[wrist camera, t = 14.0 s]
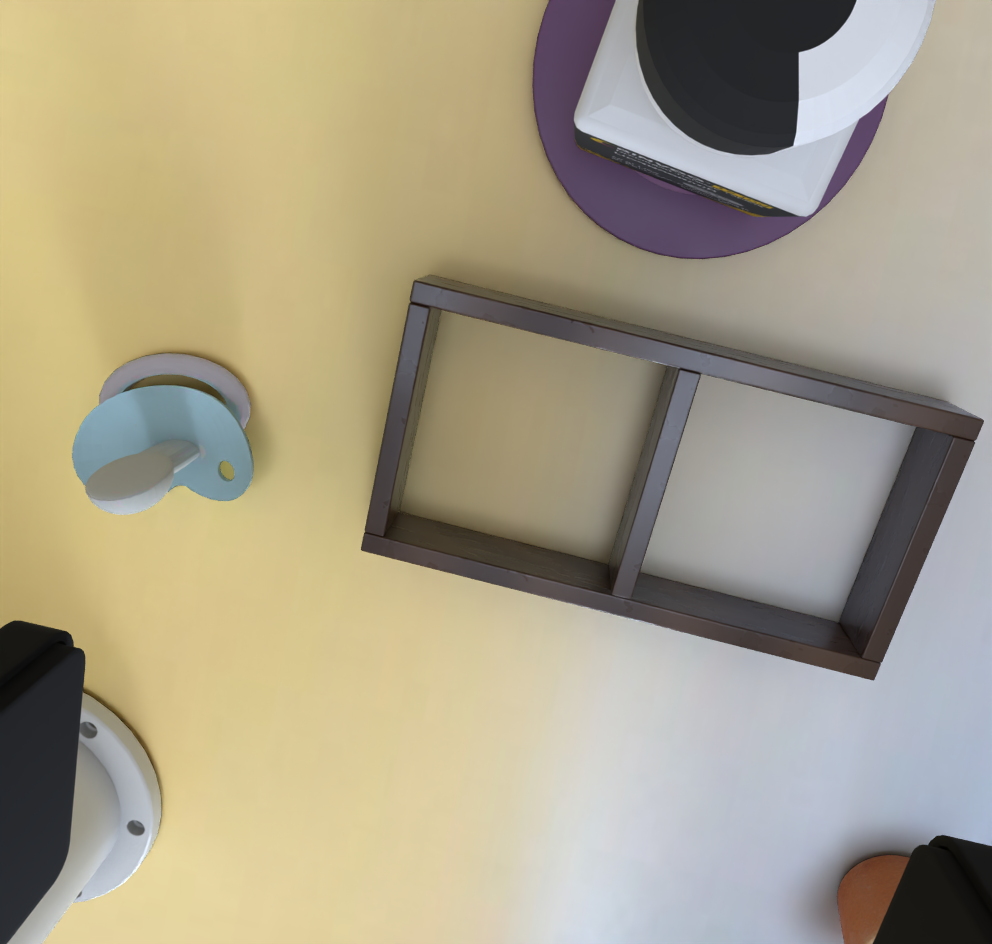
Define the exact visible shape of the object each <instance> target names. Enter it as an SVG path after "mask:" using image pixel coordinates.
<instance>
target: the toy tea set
mask: <svg viewBox="0 0 992 944" xmlns="http://www.w3.org/2000/svg"><path fill="white" fill-rule="evenodd" d="M909 859H910V858H909V857H904V856H899V855H883V856H877V857H873V858H870V859H867V860H865V861H863V862H861V863H859V864H858V865H856V866H855V867H853V868H852V869H851V870H850V871H849V872H848V873H847V874H846V875H845V877H844V878H843V880H842V881H841V883H840V886H839V890H838V894H837V903H838V910H839V915H840V921H841V927H842V933H843V938H844V944H873V942H874V939H875V937H876V935H877V932H878V930H879V928H880V926H881V923H882V921H883V919H884V916H885V914H886V912H887V909H888V907H889V905H890V902H891V900H892V898H893V896H894V893H895V891H896V889H897V886H898V884H899V882H900V879H901V877H902V875H903V873H904V870H905V868H906V866H907V863H908V861H909Z"/></svg>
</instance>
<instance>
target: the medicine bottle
mask: <svg viewBox="0 0 992 944" xmlns="http://www.w3.org/2000/svg"><path fill="white" fill-rule="evenodd" d="M934 5H935V0H616V1H615V4H614V7H613V9H612V12H611V15H610V17H609V20H608V23H607V26H606V28H605V31H604V34H603V37H602V39H601V42H600V45H599V47H598V50H597V53H596V56H595V58H594V61H593V64H592V67H591V69H590V72H589V75H588V78H587V80H586V83H585V86H584V88H583V91H582V94H581V97H580V99H579V102H578V105H577V108H576V110H575V114H574V132H575V142H576V144H577V146H578V147H579V148H580V149H582V150H584V151H587V152H589V153H592V154H594V155H597V156H599V157H602V158H605V159H607V160H610V161H612V162H615V163H617V164H620V165H623V166H625V167H628V168H630V169H633V170H635V171H638V172H641V173H643V174H646V175H648V176H651V177H653V178H656V179H659V180H661V181H664V182H666V183H669V184H671V185H674V186H676V187H679V188H682V189H684V190H687V191H689V192H692V193H694V194H697V195H700V196H702V197H705V198H707V199H710V200H712V201H715V202H718V203H720V204H723V205H725V206H728V207H730V208H733V209H736V210H738V211H741V212H743V213H746V214H748V215H751V216H755V217H806V216H808V215H811V214H813V213H814V212H815V210H816V209H817V208H818V206H819V204H820V202H821V199H822V197H823V195H824V193H825V191H826V189H827V187H828V184H829V182H830V180H831V178H832V176H833V174H834V172H835V170H836V167H837V165H838V163H839V161H840V159H841V157H842V155H843V152H844V150H845V148H846V146H847V144H848V142H849V140H850V138H851V135H852V133H853V131H854V129H855V127H856V125H857V123H858V120H859V119H860V118H861V117H863V116H864V115H866V114H867V113H869V112H870V111H871V110H872V109H873V108H874V107H875V106H876V105H877V104H879V103H880V102H881V101H882V100H883V99H884V98H885V97H886V96H887V95H888V94H889V92H890V91H891V90H892V89H893V88H894V87H895V86H896V84H897V83H898V82H899V81H900V79H901V78H902V76H903V75H904V74H905V72H906V71H907V69H908V68H909V66H910V65H911V63H912V62H913V60H914V58H915V56H916V54H917V52H918V50H919V48H920V46H921V44H922V42H923V40H924V37H925V34H926V32H927V29H928V26H929V24H930V21H931V17H932V13H933V9H934Z"/></svg>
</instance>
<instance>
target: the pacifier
mask: <svg viewBox="0 0 992 944" xmlns="http://www.w3.org/2000/svg"><path fill="white" fill-rule="evenodd" d="M164 374H171V375H183V376H187V377H192V378H195V379H198V380H200V381H202V382H205V383H207V384H209V385H210V386H211V387H213V388H214V389H215V390H217V391H218V392H219V393H220V395H221V396H222V397H223V398H224V400H225V402H226V405H227V406H226V405H225V404H224V403H223V402H221V401H220V400H218V399H217V398H215V397H214V396H212V395H210V394H208V393H205V392H203V391H200V390H198V389H194V388H190V387H185V386H178V385H157V386H147V387H141V388H136V389H133V390H130V389H131V388H132V387H133V386H134V385H135V384H136V383H138V382H139V381H141V380H143V379H144V378H147V377H150V376H156V375H164ZM250 406H251V403H250V400H249V397H248V394H247V391H246V389H245V388H244V387H243V385H242V384H241V383H240V381H239V380H238V379H237V377H235V376H234V375H233V374H231V373H230V372H229V371H228V370H226V369H225V368H224V367H222V366H220V365H218V364H216V363H213V362H211V361H209V360H207V359H204V358H200V357H196V356H192V355H187V354H173V353H163V354H155V355H147V356H144V357H141V358H138V359H135V360H132V361H129V362H128V363H126V364H124V365H123V366H121V367H120V368H118V369H116V370H115V371H114V372H113V373H112V374H111V375H110V377H109V378H108V379H107V380H106V381H105V383H104V385H103V388H102V390H101V392H100V395H99V406H97V407H96V408H94V409H93V410H92V411H91V412H90V414H89V415H88V416H87V417H86V418H85V419H84V421H83V423H82V424H81V426H80V428H79V431H78V433H77V435H76V437H75V441H74V445H73V453H72V458H73V463H74V468H75V471H76V473H77V475H78V477H79V478H80V480H81V481H82V483H83V484H84V485H85V490H86V493H87V495H88V497H89V499H90V500H91V501H92V503H93V504H94V505H96V506H97V507H98V508H100V509H101V510H104V511H106V512H109V513H112V514H119V515H127V514H134V513H138V512H141V511H144V510H146V509H148V508H150V507H152V506H153V505H155V504H156V503H157V502H159V501H160V500H161V499H162V498H163V497H164V496H165V494H166V493H167V492H169V491H170V490H171V489H172V488H173V487H175V486H178V485H183V486H186V487H188V488H189V489H191V490H192V491H194V492H196V493H198V494H199V495H201V496H204V497H207V498H209V499H213V500H218V501H230V500H233V499H236V498H238V497H239V496H241V495H242V494H243V493H244V492H245V491H246V490H247V488H248V487H249V486H250V483H251V481H252V477H253V456H252V451H251V447H250V444H249V440H248V438H247V436H246V433H245V431H244V428H245V426H246V424H247V422H248V420H249V418H250ZM222 461H227V462H229V463H230V464H231V465H232V467H233V469H234V478H233V480H229V479H227V478H225V477H224V476H223V474H222V472H221V469H220V465H221V462H222Z"/></svg>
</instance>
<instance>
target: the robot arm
mask: <svg viewBox="0 0 992 944" xmlns="http://www.w3.org/2000/svg"><path fill="white" fill-rule="evenodd" d="M84 672H85V654H84V651H83V650H82V649H80V648H76V647H74V645H73V639H72V636H71V635H70V634H69V633H68V632H67V631H63V630H58V629H54V628H50V627H45V626H41V625H37V624H32V623H28V622H24V621H12V622H10V623H8V624H6V625H5V626H3V627H2V628H0V944H42V943H43V942H44V941H45V939H46V938H47V937H48V935H49V934H50V932H51V931H52V930H53V928H54V927H55V926H56V924H57V923H58V922H59V920H60V919H61V918H62V916H63V915H64V914H65V912H66V911H67V910H68V908H69V907H70V905H71V904H72V903H75V902H82V901H88V900H90V899H93V898H96V897H99V896H102V895H105V894H107V893H109V892H110V891H112V890H113V889H115V888H117V887H118V886H120V885H122V884H123V883H124V882H125V881H126V880H127V879H128V878H129V877H130V876H131V875H132V874H133V873H134V872H135V871H136V870H137V869H138V867H139V866H140V864H141V863H142V862H143V860H144V859H145V857H146V856H147V854H148V853H149V851H150V849H151V847H152V845H153V843H154V841H155V838H156V836H157V834H158V829H159V824H160V819H161V793H160V790H159V786H158V782H157V778H156V774H155V771H154V769H153V767H152V765H151V763H150V760H149V758H148V756H147V754H146V752H145V750H144V749H143V747H142V746H141V745H140V743H139V742H138V740H137V739H136V737H135V736H134V735H133V733H132V732H131V731H130V730H129V729H128V727H127V726H126V725H125V724H124V723H123V722H122V721H121V720H120V719H119V718H118V717H117V716H116V715H115V714H114V713H113V712H111V711H110V710H109V709H107V708H106V707H105V706H103V705H102V704H101V703H99V702H98V701H97V700H95V699H94V698H93V697H91V696H89V695H87V694H85V693H83V684H84ZM873 944H992V846H988V845H984V844H980V843H975V842H971V841H967V840H962V839H958V838H954V837H950V836H945V835H941V836H936V837H935V838H934V839H932V840H931V841H930V843H929V844H928V845H919V846H918V847H917V848H915V849H914V851H913V853H912V854H911V856H910V859H909V861H908V863H907V866H906V868H905V870H904V873H903V875H902V877H901V879H900V882H899V884H898V886H897V889H896V891H895V893H894V896H893V898H892V900H891V902H890V905H889V907H888V909H887V912H886V914H885V916H884V919H883V921H882V923H881V926H880V928H879V930H878V932H877V935H876V937H875V939H874V942H873Z"/></svg>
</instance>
